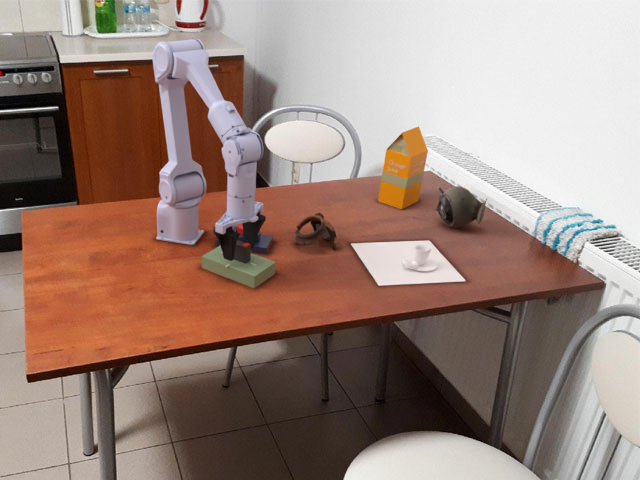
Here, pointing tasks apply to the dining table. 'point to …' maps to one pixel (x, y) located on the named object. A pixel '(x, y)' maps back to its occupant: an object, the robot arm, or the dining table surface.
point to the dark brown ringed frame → (316, 231)
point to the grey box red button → (261, 242)
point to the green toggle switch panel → (239, 268)
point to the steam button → (240, 229)
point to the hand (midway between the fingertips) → (238, 252)
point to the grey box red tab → (242, 252)
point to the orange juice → (403, 170)
